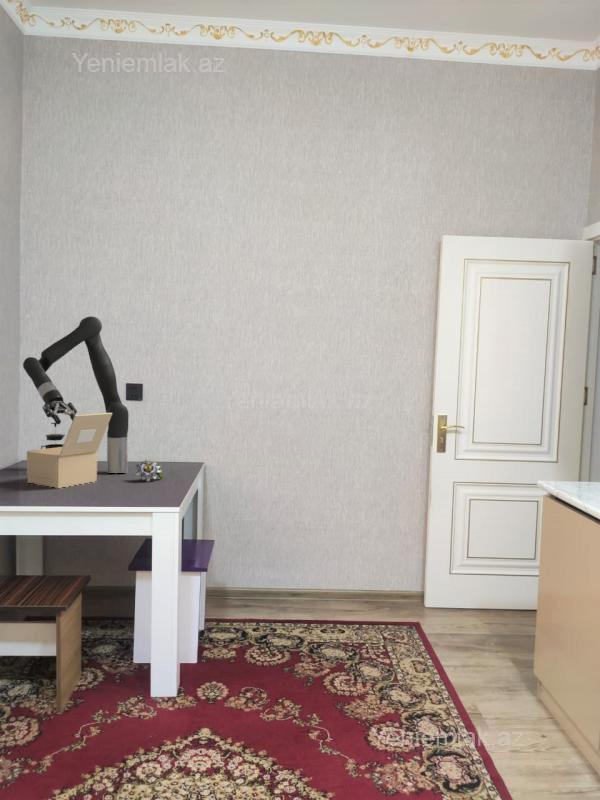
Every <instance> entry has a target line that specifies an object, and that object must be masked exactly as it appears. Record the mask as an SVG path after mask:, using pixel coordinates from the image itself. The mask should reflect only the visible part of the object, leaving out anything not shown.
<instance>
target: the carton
mask: <svg viewBox="0 0 600 800" xmlns="http://www.w3.org/2000/svg"><path fill="white" fill-rule="evenodd" d="M61 450H62V447H57V448H48V449H46V448H42V449H41V448H40V449H34V450H33V449H32V450H27V451H26V475H27V483H28V482H32V483H37V484H41V485H45V486H50V487H49V488H51V487H55V488H54V489H57V488H60V489H63V488H62V487H66V488H70V487H69V486H71V487H75V486H74V485H77V486H80V485H79V484H82V485H85V484H84V483H88V484H90V483H89V482H93V483H96V482H95V481H98V480H97V479H98V478H97V477H98V476H97V474H98V450H97V451H96V452H88V453H81V454H73V455H65V456H60V452H61ZM45 486H44V487H45Z"/></svg>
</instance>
